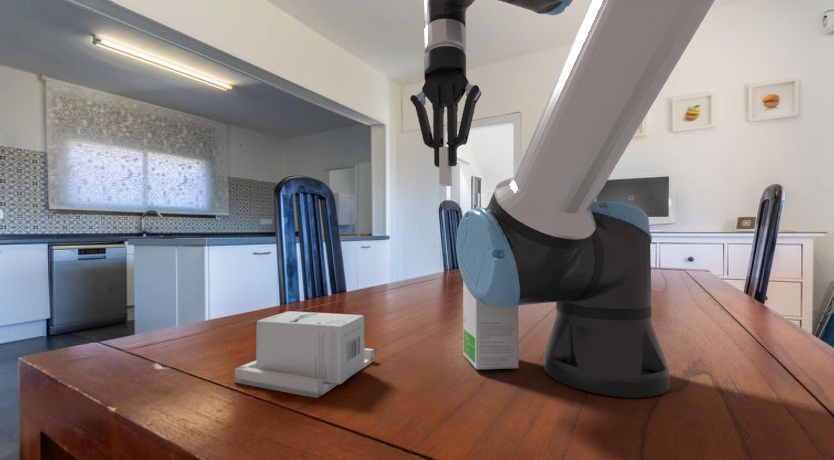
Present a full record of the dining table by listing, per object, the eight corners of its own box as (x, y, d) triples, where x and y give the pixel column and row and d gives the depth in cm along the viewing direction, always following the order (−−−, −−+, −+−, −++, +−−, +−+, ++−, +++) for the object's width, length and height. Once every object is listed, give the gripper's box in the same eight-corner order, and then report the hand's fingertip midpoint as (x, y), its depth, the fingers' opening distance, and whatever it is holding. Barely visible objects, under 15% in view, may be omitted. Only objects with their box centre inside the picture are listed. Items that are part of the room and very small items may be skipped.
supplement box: (341, 325, 44) (254, 320, 48) (341, 386, 44) (254, 377, 48) (365, 313, 52) (288, 309, 55) (365, 365, 51) (288, 358, 55)
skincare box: (462, 355, 58) (460, 258, 59) (502, 354, 58) (499, 258, 60) (476, 370, 49) (473, 256, 51) (523, 368, 50) (518, 256, 52)
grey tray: (374, 360, 55) (374, 349, 55) (317, 398, 42) (317, 382, 42) (304, 351, 60) (304, 340, 60) (234, 382, 47) (234, 368, 47)
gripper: (484, 57, 66) (486, 185, 66) (418, 70, 71) (419, 189, 70) (476, 36, 59) (477, 179, 59) (403, 51, 64) (403, 184, 63)
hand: (445, 184), depth 64 cm, fingers closed
